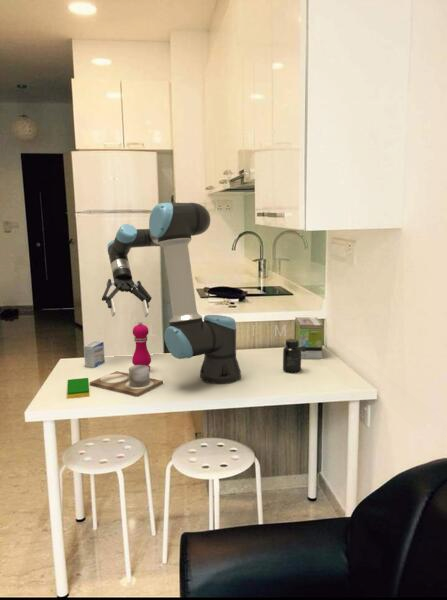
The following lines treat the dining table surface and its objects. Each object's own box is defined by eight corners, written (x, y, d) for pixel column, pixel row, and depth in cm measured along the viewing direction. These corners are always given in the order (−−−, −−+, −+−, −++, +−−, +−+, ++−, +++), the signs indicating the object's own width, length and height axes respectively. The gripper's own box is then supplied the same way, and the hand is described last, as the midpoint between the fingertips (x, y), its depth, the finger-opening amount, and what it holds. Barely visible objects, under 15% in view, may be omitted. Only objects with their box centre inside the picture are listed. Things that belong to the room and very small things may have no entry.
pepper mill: (147, 374, 191) (145, 323, 188) (129, 373, 193) (127, 322, 189) (154, 368, 198) (152, 319, 195) (136, 367, 200) (134, 318, 196)
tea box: (322, 359, 209) (323, 324, 206) (298, 359, 209) (299, 324, 206) (316, 349, 224) (317, 316, 221) (293, 349, 224) (294, 316, 221)
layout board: (163, 384, 181) (162, 364, 180) (137, 396, 169) (136, 376, 168) (117, 374, 192) (116, 355, 191) (89, 385, 181) (88, 365, 179)
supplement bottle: (285, 367, 199) (285, 337, 197) (302, 369, 197) (303, 339, 195) (280, 372, 193) (281, 342, 191) (298, 374, 190) (299, 343, 188)
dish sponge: (88, 383, 184) (88, 377, 183) (89, 397, 170) (89, 390, 170) (68, 385, 182) (67, 379, 181) (67, 399, 168) (67, 392, 168)
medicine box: (94, 368, 200) (93, 346, 198) (84, 367, 201) (83, 346, 200) (105, 362, 207) (103, 341, 206) (95, 361, 209) (94, 340, 207)
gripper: (146, 279, 219) (156, 320, 208) (89, 276, 206) (96, 319, 195) (152, 268, 214) (163, 310, 203) (94, 264, 201) (101, 308, 190)
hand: (130, 314), depth 199 cm, fingers open, 13 cm apart
